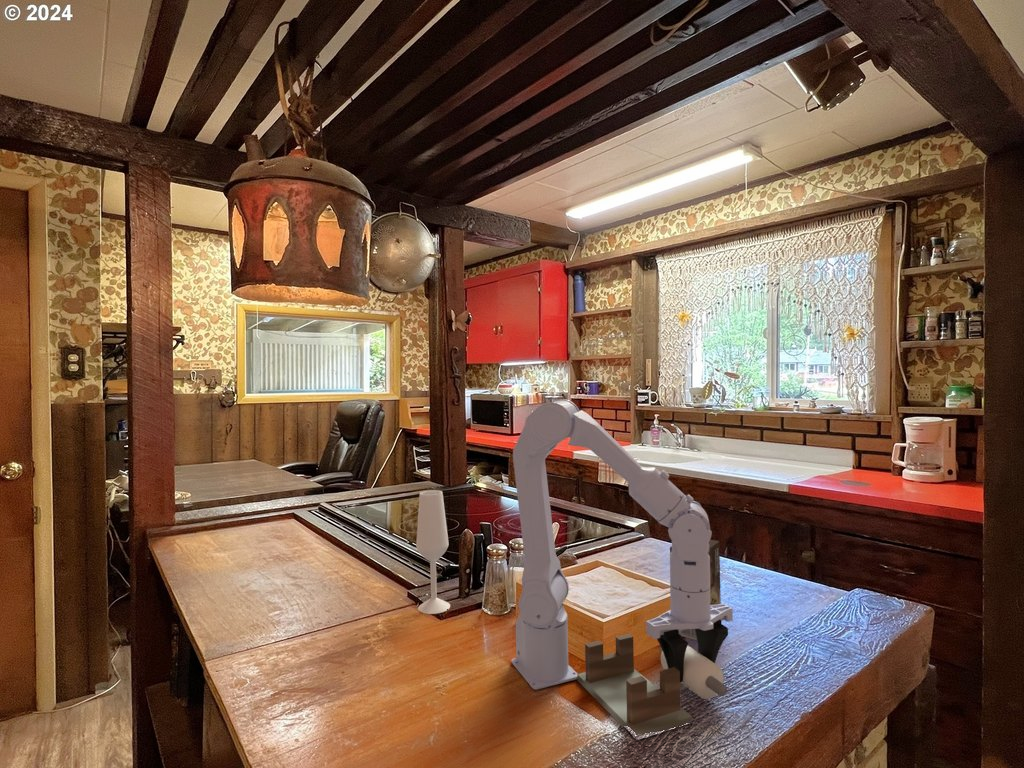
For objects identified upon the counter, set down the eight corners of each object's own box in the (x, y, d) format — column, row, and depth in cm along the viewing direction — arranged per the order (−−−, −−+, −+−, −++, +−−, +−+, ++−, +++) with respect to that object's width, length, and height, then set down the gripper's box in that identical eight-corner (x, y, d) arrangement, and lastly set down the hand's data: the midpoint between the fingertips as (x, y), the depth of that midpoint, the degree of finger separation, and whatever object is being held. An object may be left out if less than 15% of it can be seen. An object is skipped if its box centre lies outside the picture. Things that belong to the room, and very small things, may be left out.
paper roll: (651, 667, 90) (650, 636, 89) (676, 660, 92) (676, 630, 91) (708, 712, 78) (708, 676, 77) (736, 703, 79) (736, 668, 79)
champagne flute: (413, 604, 119) (410, 491, 118) (443, 598, 122) (440, 488, 122) (423, 616, 113) (420, 497, 113) (455, 609, 116) (452, 493, 116)
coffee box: (689, 616, 110) (687, 534, 110) (722, 624, 106) (720, 540, 106) (669, 633, 103) (668, 546, 103) (704, 643, 99) (702, 552, 99)
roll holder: (577, 680, 88) (576, 639, 88) (625, 667, 92) (625, 628, 92) (636, 741, 74) (635, 692, 74) (692, 723, 77) (691, 676, 77)
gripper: (667, 603, 78) (668, 700, 78) (747, 586, 83) (748, 677, 84) (637, 586, 84) (638, 675, 85) (713, 571, 90) (714, 655, 90)
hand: (691, 675), depth 85 cm, fingers closed on paper roll, 5 cm apart
